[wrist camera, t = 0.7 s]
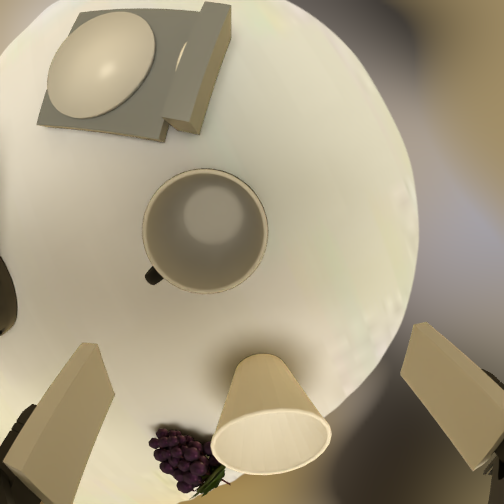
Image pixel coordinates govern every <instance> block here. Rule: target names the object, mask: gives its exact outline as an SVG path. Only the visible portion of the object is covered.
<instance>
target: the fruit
mask: <svg viewBox="0 0 504 504" xmlns="http://www.w3.org/2000/svg"><path fill="white" fill-rule="evenodd" d="M156 435H157V437H158V439H156V438H151V440H150V441H149V446H150V447H152V448H154V449H156V450H155V451H154V457H155V459H156V460H158V461H160V462H162V463H160V469H161V470H162V472H164V473H166V474H171V475H172V476H173V477H174V478H175V479H176V480H177V481H178V483H177V488H178V490H179V491H181V492H183V493H189V492H191V491H194V490H193V488H195V487H198V486H199V488H197V489H196V490H197V491H196V490H195V491H196V492H197V493H196V494H195V495H194V496H196V495H198V494H199V493H201V494H202V493H203V495H202V496H204V495H206V494H207V493H208V492H209V491H210V490H211V489H214V488H217V487H218V485H219V483H220V481H224V482H225V483H227V484H229V485H230V483H228V482H226V481H225V480H223V479H222V478H223V477H224V475H225V473H224V472H225V470H224V469H225V468H226V466H224V465H223V464H221V463H220V462H218V460H217V459H216V458H215V457H214V455H213V454H212V450H211V446H210V445H211V442H210V441H209V442H206V443H204V444H203V446H202V444H201V443H199V442H198V441H194V438H192V437H191V436H189V435H186V436H182V435H181V431H178V430H175V431H174V430H170V431H169V432H168V431H167V430H166V429H158V431H157V432H156ZM169 436H170V437H169ZM157 448H160V449H157ZM206 455H207V456H210V457H209V459H208V458H207V457H206ZM194 496H193V497H194ZM190 499H191V498H190Z"/></svg>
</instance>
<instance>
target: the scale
mask: <svg viewBox="0 0 504 504" xmlns="http://www.w3.org/2000/svg"><path fill="white" fill-rule="evenodd" d="M230 40H231V5H227V4H221V3H213V2H204V5H203V7H202V9H201V11H200V12H196V11H186V10H172V9H113V10H100V11H90V12H81V13H80V14H79V15H78V17H77V19H76V21H75V23H74V25H73V27H72V29H71V31H70V33H69V35H68V37H67V38H66V40H65V41H64V42H63V43H62V45H61V46H60V47H59V49H58V51H57V52H56V54H55V56H54V58H53V60H52V62H51V65H50V68H49V72H48V78H47V90H46V93H45V97H44V100H43V103H42V106H41V110H40V113H39V117H38V121H37V125H40V126H45V127H53V128H65V129H75V130H85V131H93V132H101V133H109V134H116V135H123V136H130V137H136V138H142V139H148V140H154V141H159V142H165V139H166V135H167V131H168V128H169V124H170V125H171V126H173V127H174V128H175V129H176V130H178V131H183V132H188V133H193V134H198V135H200V131H201V128H202V124H203V121H204V118H205V114H206V111H207V108H208V104H209V101H210V98H211V95H212V92H213V89H214V85H215V82H216V79H217V76H218V73H219V70H220V68H221V65H222V62H223V59H224V56H225V53H226V51H227V48H228V45H229V42H230Z"/></svg>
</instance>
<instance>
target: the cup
mask: <svg viewBox="0 0 504 504" xmlns="http://www.w3.org/2000/svg"><path fill="white" fill-rule="evenodd" d="M331 435H332V433H331V429H330V425H329V424H328V423H327V421H326V420H325V419H324V418H323V417H322V416H321V414H320V413H319V412H318V410H317V409H316V407H315V406H314V405H313V403H312V402H311V400H310V399H309V398H308V396H307V395H306V393H305V392H304V390H303V389H302V388H301V386H300V385H299V383H298V382H297V380H296V379H295V378H294V376H293V375H292V373H291V372H290V370H289V369H288V368H287V366H286V365H285V363H284V362H283V361H282V360H281V359H280V358H278V357H277V356H274V355H271V354H255V355H252V356H249V357H247V358H245V359H244V360H243V361H241V362H240V363H239V365H238V366H237V368H236V370H235V373H234V376H233V379H232V382H231V386H230V389H229V392H228V395H227V398H226V401H225V404H224V407H223V410H222V413H221V416H220V419H219V422H218V425H217V428H216V431H215V434H214V435H213V437H212V441H211V445H210V446H211V450H212V454H213V455H214V457H215V458H216V459H217V460H218V462H220V463H221V464H223V465H224V466H226V467H227V468H229V469H232V470H235V471H237V472H241V473H246V474H253V475H270V474H279V473H284V472H287V471H292V470H294V469H297V468H299V467H302V466H304V465H306V464H308V463H309V462H311V461H313V460H315V459H316V458H317V457H318V456H319V455H320V454H322V453H323V452H324V450H325V449H326V447H327V446H328V444H329V443H330V439H331Z"/></svg>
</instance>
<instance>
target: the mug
mask: <svg viewBox="0 0 504 504" xmlns="http://www.w3.org/2000/svg"><path fill="white" fill-rule="evenodd" d="M142 237H143V243H144V247H145V251H146V253H147V256H148V258H149V260H150V262H151V263H152V265H153V266H152V267H151V268H150V269H149V271H148V272H147V273H146V275H145V278H146V280H147V282H148V283H150V284H152V285H155V284H157V283H158V282H160V281H161V280H162V279H166V280H167V281H168V282H169V283H171V284H173V285H174V286H176V287H178V288H180V289H183V290H185V291H189V292H193V293H199V294H214V293H220V292H223V291H226V290H229V289H232V288H234V287H236V286H237V285H239V284H241V283H242V282H243V281H245V280H246V279H247V278H248V277H249V276H250V275H251V274H252V273H253V272H254V271H255V270H256V268H257V267H258V265H259V264H260V262H261V260H262V258H263V256H264V253H265V250H266V246H267V241H268V223H267V217H266V214H265V211H264V208H263V206H262V204H261V202H260V200H259V198H258V197H257V195H256V194H255V193H254V191H253V190H252V189H251V188H250V187H249V186H248V185H247V184H246V183H245V182H243V181H242V180H241V179H239V178H238V177H236V176H234V175H232V174H230V173H227V172H224V171H221V170H216V169H194V170H189V171H186V172H183V173H180V174H178V175H176V176H174V177H172V178H171V179H169V180H168V181H167V182H165V183H164V184H163V185H162V186H161V187H160V188H159V189H158V190H157V191H156V193H155V194H154V195H153V197H152V198H151V200H150V202H149V204H148V206H147V208H146V211H145V214H144V218H143V225H142Z"/></svg>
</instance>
